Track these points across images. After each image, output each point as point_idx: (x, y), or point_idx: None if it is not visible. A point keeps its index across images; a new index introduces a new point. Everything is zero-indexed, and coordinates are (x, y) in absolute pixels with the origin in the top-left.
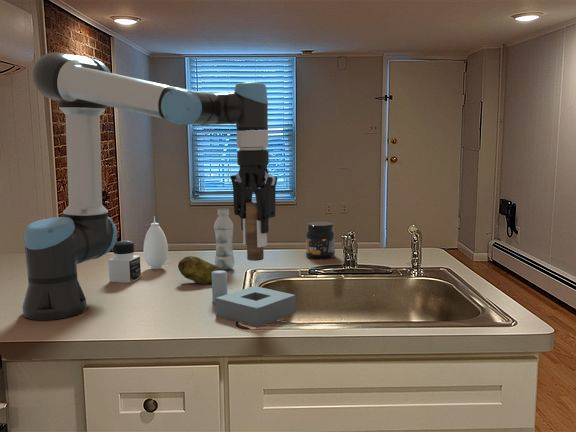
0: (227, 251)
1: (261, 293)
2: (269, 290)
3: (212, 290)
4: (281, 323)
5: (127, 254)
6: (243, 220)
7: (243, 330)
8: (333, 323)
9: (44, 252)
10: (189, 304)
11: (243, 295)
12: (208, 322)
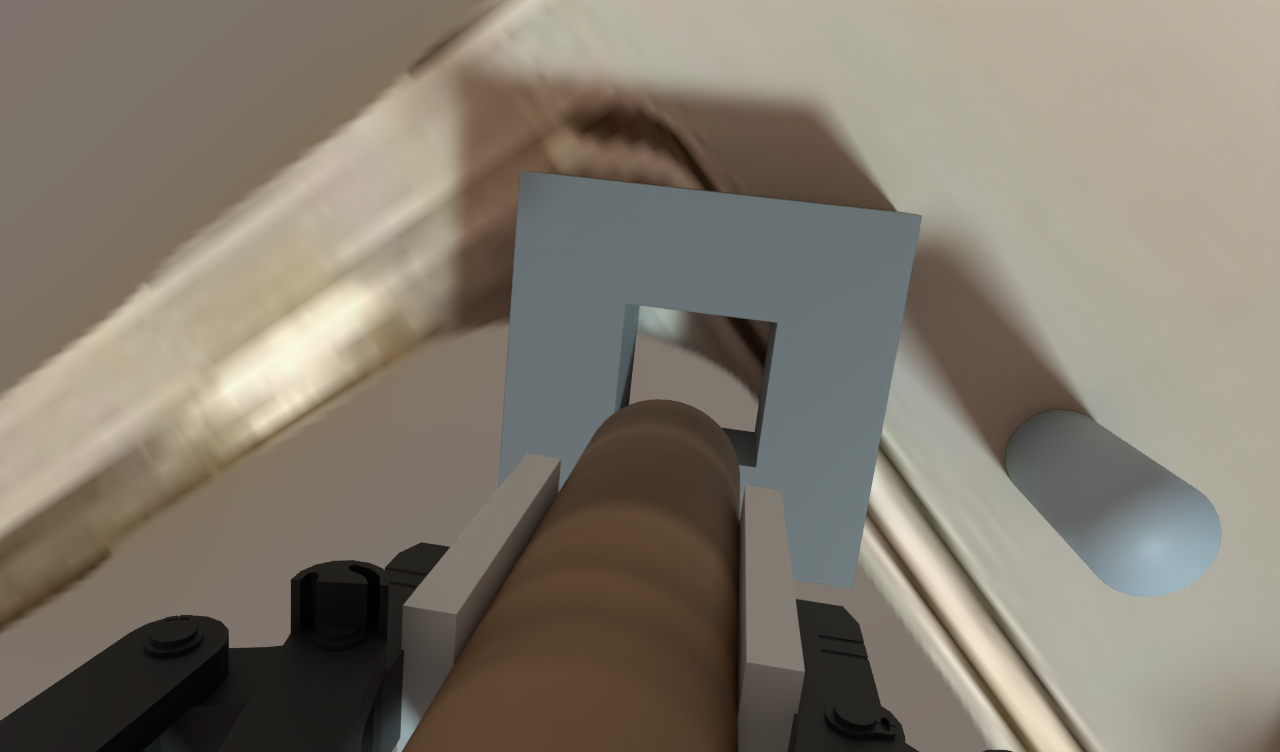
0: None
1: None
2: None
3: (1126, 442)
4: (480, 297)
5: None
6: (783, 652)
7: (583, 84)
8: (269, 432)
9: None
10: (1217, 305)
11: (777, 363)
12: (856, 80)
